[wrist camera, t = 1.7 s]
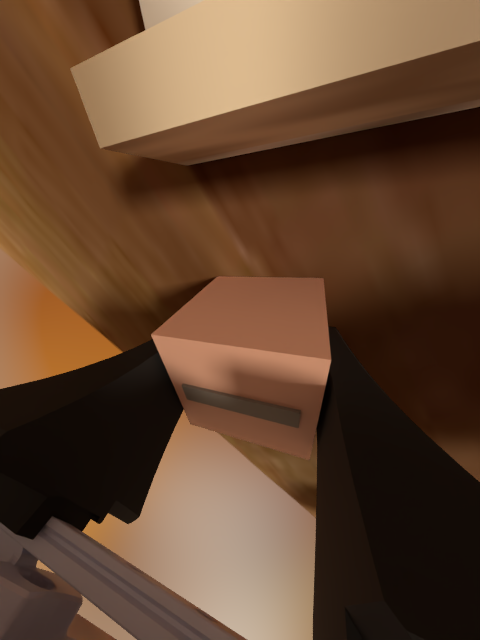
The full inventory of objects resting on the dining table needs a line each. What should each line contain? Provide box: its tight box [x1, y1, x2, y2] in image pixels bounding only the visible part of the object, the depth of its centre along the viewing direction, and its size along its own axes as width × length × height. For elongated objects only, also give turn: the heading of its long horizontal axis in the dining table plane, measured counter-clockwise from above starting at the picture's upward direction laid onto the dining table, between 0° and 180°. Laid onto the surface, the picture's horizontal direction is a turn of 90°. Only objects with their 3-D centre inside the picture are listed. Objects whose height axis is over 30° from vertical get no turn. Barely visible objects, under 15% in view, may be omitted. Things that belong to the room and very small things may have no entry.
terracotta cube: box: [151, 276, 331, 460], centre depth 8 cm, size 5×5×5 cm
